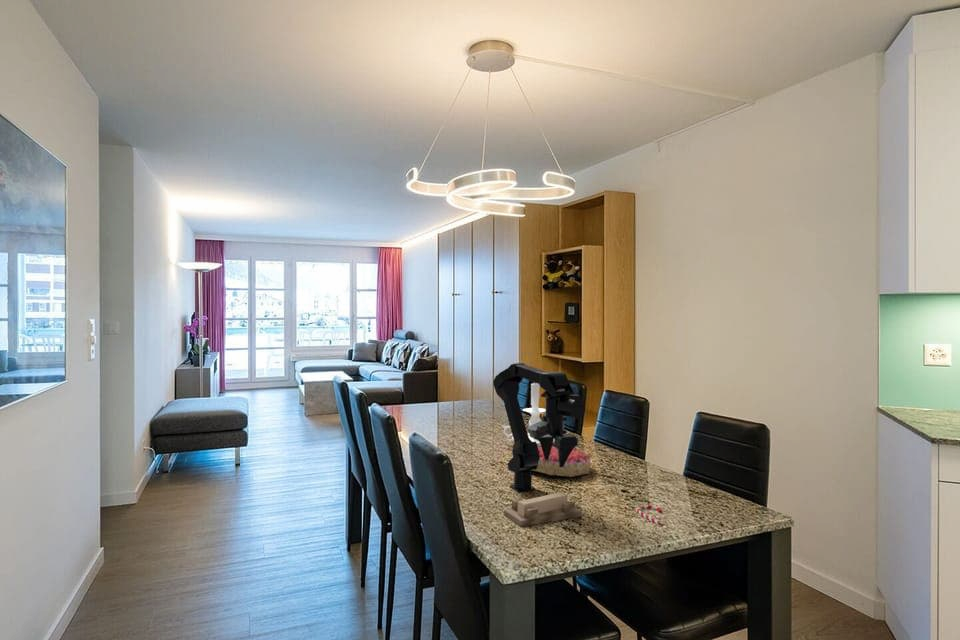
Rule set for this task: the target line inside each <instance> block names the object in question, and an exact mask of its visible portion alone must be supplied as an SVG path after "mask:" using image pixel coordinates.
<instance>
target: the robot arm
mask: <svg viewBox="0 0 960 640" xmlns="http://www.w3.org/2000/svg"><path fill="white" fill-rule="evenodd" d="M523 379H525V380H527V381H531V382H533V383H535V384H536V383H538V384H539V385H540V389H543V390H544V392H542V394H541V395H540V397H541V398H545V409H546V412H544V413H545V414H544V415H542V416H541V421H540V422H537V423H535V424H533V425H531V426H529V425H528V427H526V423H525V419H524V416H523V415H524V414H523V412H522V409H521V406H520V402H519V398H518V397H519V392H520V389H521V388H520V384H521V383H522V382H523ZM492 384H493V388H494V390H495V393H496V395H497V396H498V397H499V398H500V400H502V401H503V405H504V408H505V411H506V416H507V419H508V423H509V426H510V427H511V428H510V431H511V434H512V437H513V438H514V441H513V442H514V443H513V447H512V450H511V454H512V458H511V459H510V460H509V462H507V470H508V471H510V472H511V473H512V472H513V484H510V485H509V488H511V489H513V490H515V491H517V492H527V491H529V492H530V491H534V490H535V491H536V487H535V486H533V485H532V478H533V477H532V471H534V470H536V469H537V466H538V463H539V460H540V455H539V454H540V452H539V450H538V446H537V443H536V442H532V441H531V440H530V439H529V437H528V433H529V434H530V437H531V438H534V439H535V440H538V441H539V442H540V444H541V447H542V451H543V454H544V458H545V460H548V459H549V456H550V452H551V448H552V446H554V447H555V448H556V449H557V450H558V457H559V466H560V467H563V466H564V464H565V462H566V461H567V459H568V457H569V455H570V453H571V451H572V450H573V449H575V448H576V447H578V446H579V439H578V437H577V436H575V435H572V434H570V433H569V434H567V430H566V429H565V421H567V419H568V418H569V417H570V418H573V419H580V418H582V417H583V416H584V414H585V411H586V406H585V403H584V401H583V400H582V399H581V395H580V394H575V392H574V389H573V387H572V385H571V383H570V381H569V379H568V377H567V374H566V373H565V372H562V371H546V370H542V369H539V368H536V367H534V366H531V365H528V364H526V363H523V362H517V363H511V364H510V365H509V366H508V367H507V368H505V369H503V370H502V371H500V372H499V373H498V374H497V375H495V377H494V379H493V382H492ZM567 417H568V418H567ZM553 440H554V443H553ZM553 444H554V445H553Z"/></svg>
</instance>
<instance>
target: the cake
mask: <svg viewBox="0 0 960 640" xmlns="http://www.w3.org/2000/svg"><path fill="white" fill-rule="evenodd" d="M538 450H539V452H540V454H539V455H540V460H539V463H538V466H537V469H536V470H533V471H534V472H539V473H542V474H546V475H548V476H550V477H551V476H556V478H557V477H563V478H567V479H570V478H573V477H577V476H582V475H583V476H584V475H587V474H588V475H589V474H590V472H591V471H590V470H591V458H590V457H591V456H590V455H588V454H587V453H585V452H583V451H582V450H578V449H577V450H575V448H573V450H572V451H571V453H570V455H569V457H568V459H567V461H566V462H565V464H564V466H563V467H560V466H559V457H558V450H557V449H556V448H555V446H554V445H552V448H551V452H550V456H549V459H548V460H545V458H544V454H543V451H542V447H538Z"/></svg>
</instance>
